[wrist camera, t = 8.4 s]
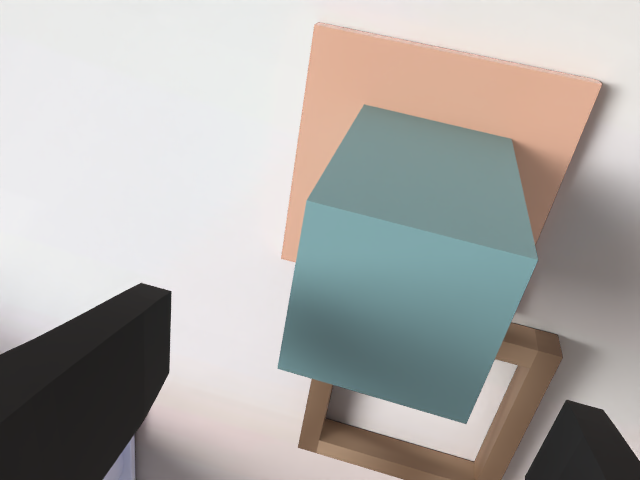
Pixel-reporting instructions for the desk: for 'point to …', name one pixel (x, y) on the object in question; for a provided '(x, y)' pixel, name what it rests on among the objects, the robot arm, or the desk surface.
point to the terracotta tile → (437, 108)
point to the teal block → (410, 263)
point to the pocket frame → (429, 465)
